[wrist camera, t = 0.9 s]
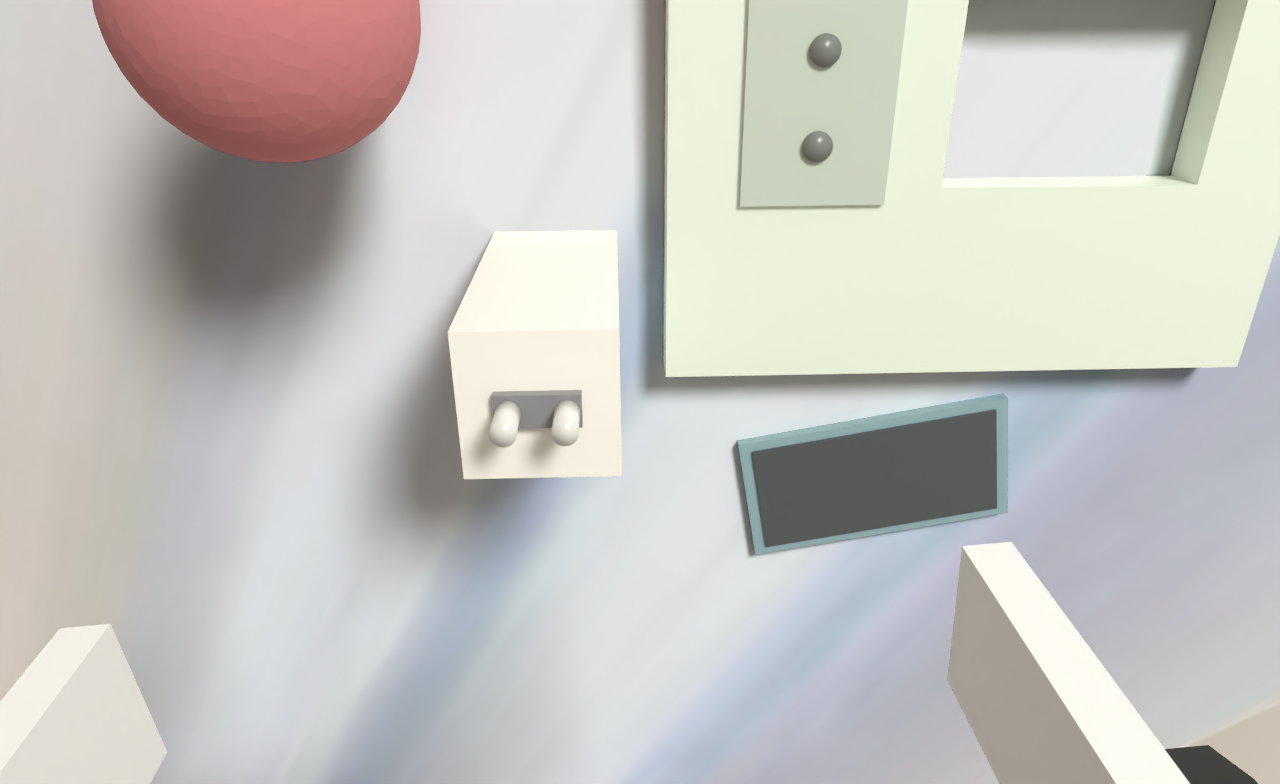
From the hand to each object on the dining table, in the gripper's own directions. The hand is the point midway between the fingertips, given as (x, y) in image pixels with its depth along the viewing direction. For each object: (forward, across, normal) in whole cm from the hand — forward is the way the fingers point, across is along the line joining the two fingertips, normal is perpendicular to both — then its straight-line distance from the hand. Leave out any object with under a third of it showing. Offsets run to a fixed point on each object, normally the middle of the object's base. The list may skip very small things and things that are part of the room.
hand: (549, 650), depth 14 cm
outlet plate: (+20, +15, +3) cm, 25 cm away
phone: (+21, +12, -10) cm, 26 cm away
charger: (+21, -1, -1) cm, 21 cm away
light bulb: (+21, -6, +9) cm, 24 cm away
